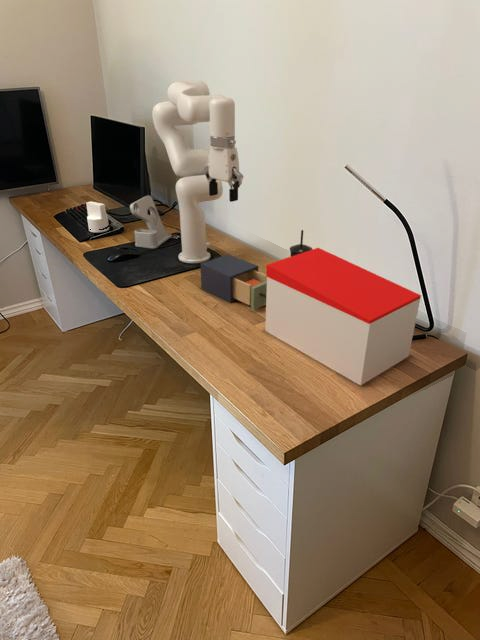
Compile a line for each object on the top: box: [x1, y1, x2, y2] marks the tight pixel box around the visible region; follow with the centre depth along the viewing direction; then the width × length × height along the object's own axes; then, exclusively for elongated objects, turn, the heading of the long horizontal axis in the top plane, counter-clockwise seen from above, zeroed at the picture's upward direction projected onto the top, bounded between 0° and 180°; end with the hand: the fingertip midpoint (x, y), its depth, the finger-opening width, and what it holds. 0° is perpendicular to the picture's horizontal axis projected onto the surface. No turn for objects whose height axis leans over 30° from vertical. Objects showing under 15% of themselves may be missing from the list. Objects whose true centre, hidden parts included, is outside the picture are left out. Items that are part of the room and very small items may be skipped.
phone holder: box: [129, 194, 172, 249], centre depth 206 cm, size 17×10×18 cm, turn 162°
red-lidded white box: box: [264, 247, 422, 387], centre depth 132 cm, size 21×35×21 cm, turn 40°
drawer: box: [232, 270, 267, 311], centre depth 157 cm, size 19×12×7 cm, turn 44°
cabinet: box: [200, 253, 259, 304], centre depth 165 cm, size 15×13×9 cm
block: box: [245, 279, 262, 287], centre depth 158 cm, size 4×4×4 cm
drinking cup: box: [289, 229, 314, 257], centre depth 166 cm, size 8×8×20 cm
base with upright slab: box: [85, 201, 110, 234], centre depth 221 cm, size 9×9×12 cm
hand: (223, 197), depth 157 cm, fingers open, 9 cm apart
